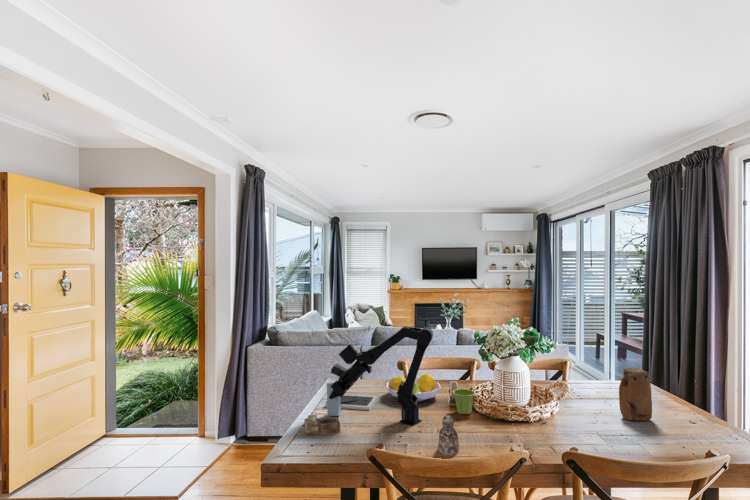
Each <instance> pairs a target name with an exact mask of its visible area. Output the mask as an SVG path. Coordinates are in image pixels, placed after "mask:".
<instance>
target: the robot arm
mask: <svg viewBox="0 0 750 500" xmlns="http://www.w3.org/2000/svg"><path fill="white" fill-rule="evenodd" d="M433 337H434V332H433V330H432V329H431V328H430V327H428V326H427V327H426V326H425V327H422V328H421V327H412V326H407V325H405V326H402V327H401V328H400V329H399V330H398V331H397V332H395V333H394V334H392V335H391V336H390V337H388V338H387V339H385V340H384V341H383V342H382V343H380V344H378V345H375V346H373V347H370V348H369V349H367V350H366V351H360V352H359V351H357V350H356V349H355V348H354V346H353V345H352V344H351V343H350V344H348V345H347V346H346V347H345V348H344V349H342V350H341V351H340V352H339V353H338V356H339V357H340V358H341V359H342V360H343V361H344V363H346V365H351V366H350V367H349V368H348V369H347V368H346V367H344V366H342V365H341V364H339V363H335V364H333V366H332V367H331V369H330V373H331V374H333V375H335V376H337V377H338V379H337V380H335V381H334V383H333V384H332V385H331V388H332V389H333V391H332V393H331V395H330V396H329V398H330V399H333V398H335V397H338V396H339V397H342V396H343V395H344V394H346V393H347V391H348V390H350V388H352V387H353V385H355V384H356V382H357V381H358V380H359V379H360V378H361V377H362V376H363V375H364V374H365V372H367V373H368V374H371V373H372V371H373V369H372V368H373V365H374V363H376V362H377V361H378V359H379V358H380V357H381V356H382V355H384V353H385V352H387V351H388V350H390V349H391V348H392V347H393V346H396V345H397V344H398V343H399V342H401V341H402V340H403V339H406V338H409V339H411V340H414V341H416V348H415V352H414V355H413V357H412V361H411V363H410V366H409V370H408V373H407V375H406V380H405V382H403V381H401V383H400V385H399V390H398V391H397V393H396V394H398V395H397V398H396V399H397V401H398V402H399V404H400V405H401V412H400V413H401V419H400V420H399V422H400V423H403V424H405V425H409V426H414V425H416V424H418V423H420V422H422V420H421V419H420V418H419V417H420V415H419V413H420V412H419V406H418V405H417V404H418V403H419V402H418V398H417V397H416V396H415V395H414V394H413V392H414V383H415V379H416V378H417V376H418V374H419V373H418V372H419V370H420V367H421V364H422V361H423V359H424V358H423V357H424V355H425V352H426V350H427V348H428V347H429V345H430V343H431V341H432V340H433Z"/></svg>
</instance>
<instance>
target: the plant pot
mask: <svg viewBox="0 0 750 500" xmlns="http://www.w3.org/2000/svg"><path fill="white" fill-rule="evenodd" d="M452 394H453V396H454V398H455V406H456V411H457V413H458V414H460V415H470V414H472V411H473V403H474V397H475V395H476V392H475V391H474V390H472V389H467V388H457V389H454V390H453V391H452Z"/></svg>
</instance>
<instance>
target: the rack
mask: <svg viewBox="0 0 750 500" xmlns="http://www.w3.org/2000/svg"><path fill="white" fill-rule="evenodd" d="M317 422H318V432H309V433H306V431H305V426H304V429H303V431H304V436H306V437H307V436H316V435H327V434H336V433H338V434H339V433H341V422H340V419H339V416H335V417H326V418H317Z"/></svg>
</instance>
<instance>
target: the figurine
mask: <svg viewBox="0 0 750 500" xmlns="http://www.w3.org/2000/svg"><path fill="white" fill-rule="evenodd" d="M441 422H442V423H441V424H442V427H441V429H440V430H439V433H438V443H437V446H438V447H437V449H438V452H440V453H441V454H442V455H446V456H453V454H455V455H457V453H459V452H460V442H459V434H458V431H457V430H456V428H454V427H455V425H454V423H455V420H454V418H453V416H451V413H450V412H447V413H446V415H444V416H443V418H442V420H441Z"/></svg>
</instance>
